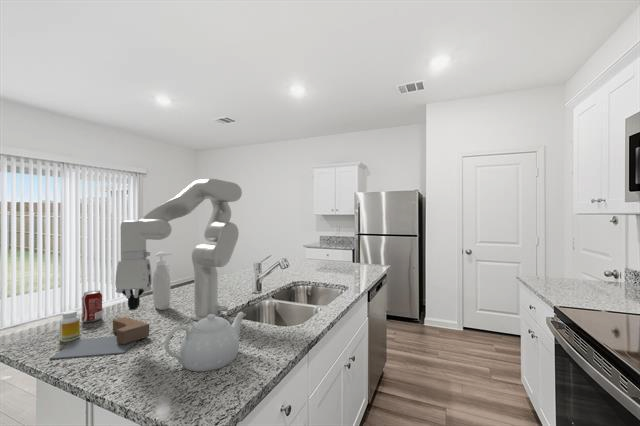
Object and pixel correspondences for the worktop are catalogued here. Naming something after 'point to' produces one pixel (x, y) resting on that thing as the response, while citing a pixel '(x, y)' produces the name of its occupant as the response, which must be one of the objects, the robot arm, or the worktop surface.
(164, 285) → the soap bottle
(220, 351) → the teapot
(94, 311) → the soda can
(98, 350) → the rubber mat
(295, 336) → the worktop surface
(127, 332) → the wooden block
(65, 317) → the supplement bottle
